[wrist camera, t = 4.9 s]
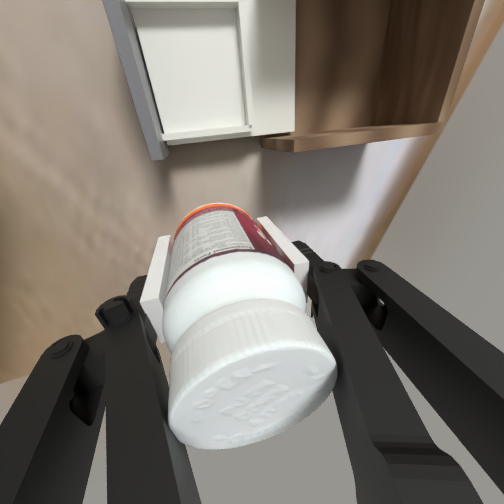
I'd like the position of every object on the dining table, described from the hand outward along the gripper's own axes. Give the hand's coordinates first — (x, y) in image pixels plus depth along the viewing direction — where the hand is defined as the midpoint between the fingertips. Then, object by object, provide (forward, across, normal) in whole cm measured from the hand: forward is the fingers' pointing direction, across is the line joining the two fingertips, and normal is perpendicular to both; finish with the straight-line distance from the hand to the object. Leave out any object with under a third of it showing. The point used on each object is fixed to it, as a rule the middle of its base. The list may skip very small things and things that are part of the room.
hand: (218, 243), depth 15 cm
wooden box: (+15, +16, +12) cm, 25 cm away
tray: (+14, +4, +12) cm, 19 cm away
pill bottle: (+1, 0, 0) cm, 1 cm away
